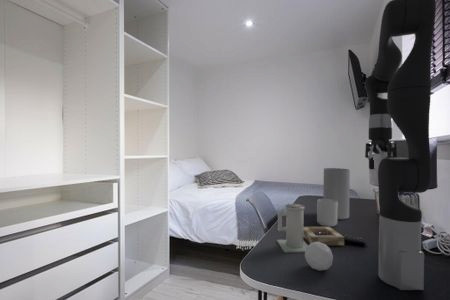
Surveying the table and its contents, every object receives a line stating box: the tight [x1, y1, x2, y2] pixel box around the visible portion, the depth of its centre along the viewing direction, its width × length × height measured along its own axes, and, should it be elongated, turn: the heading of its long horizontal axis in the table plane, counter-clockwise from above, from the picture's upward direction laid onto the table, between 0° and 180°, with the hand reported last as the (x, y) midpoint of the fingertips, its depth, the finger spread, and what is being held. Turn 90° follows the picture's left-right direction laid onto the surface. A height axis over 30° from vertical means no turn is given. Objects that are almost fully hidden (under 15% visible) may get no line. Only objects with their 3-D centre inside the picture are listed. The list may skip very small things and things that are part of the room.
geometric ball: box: [304, 242, 334, 272], centre depth 72 cm, size 8×8×8 cm
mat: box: [276, 239, 309, 254], centre depth 88 cm, size 10×10×1 cm
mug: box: [316, 198, 338, 228], centre depth 116 cm, size 12×9×11 cm
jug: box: [277, 203, 306, 248], centre depth 88 cm, size 7×9×14 cm
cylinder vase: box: [322, 167, 351, 220], centre depth 128 cm, size 12×12×25 cm
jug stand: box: [303, 226, 345, 246], centre depth 95 cm, size 12×12×3 cm
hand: (379, 170), depth 92 cm, fingers open, 8 cm apart
